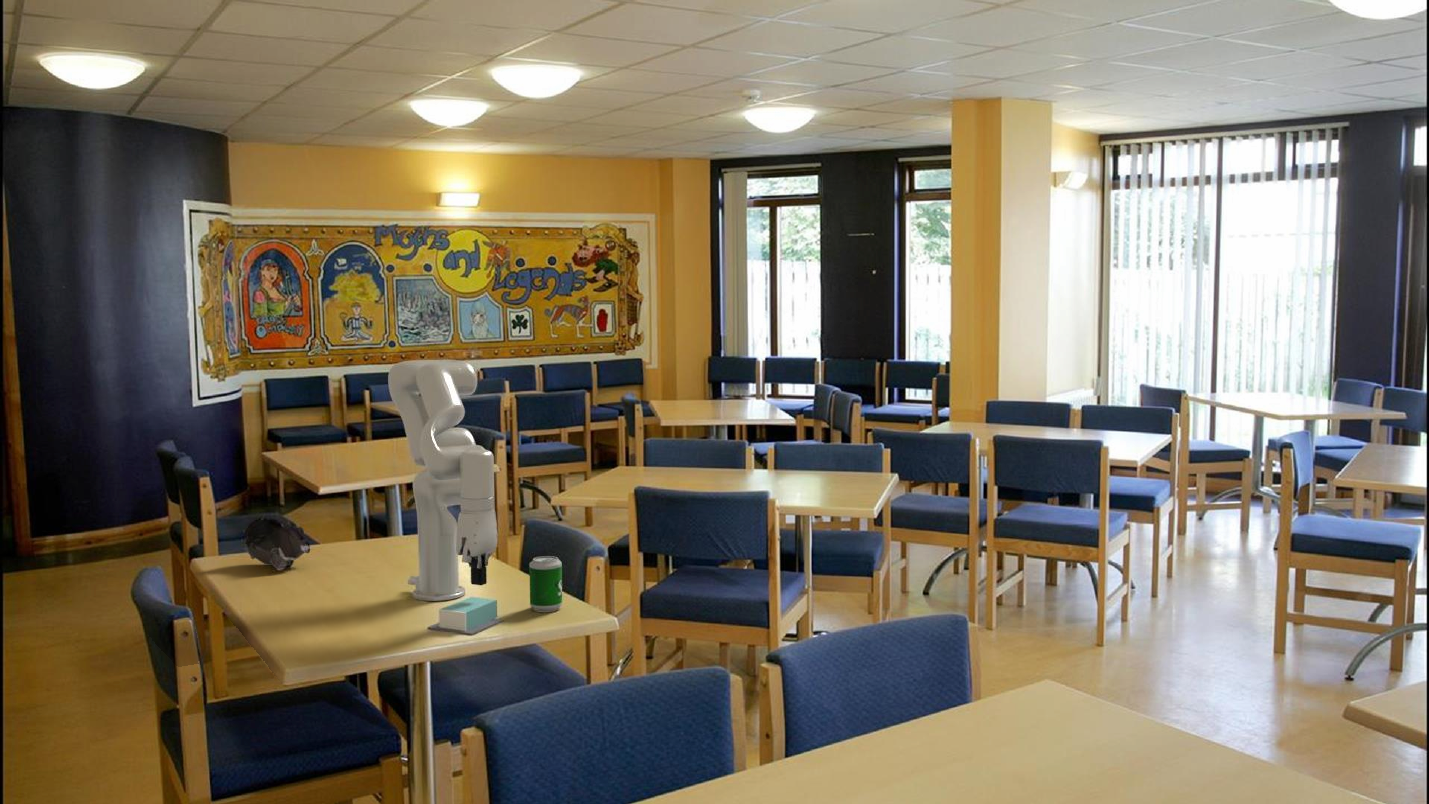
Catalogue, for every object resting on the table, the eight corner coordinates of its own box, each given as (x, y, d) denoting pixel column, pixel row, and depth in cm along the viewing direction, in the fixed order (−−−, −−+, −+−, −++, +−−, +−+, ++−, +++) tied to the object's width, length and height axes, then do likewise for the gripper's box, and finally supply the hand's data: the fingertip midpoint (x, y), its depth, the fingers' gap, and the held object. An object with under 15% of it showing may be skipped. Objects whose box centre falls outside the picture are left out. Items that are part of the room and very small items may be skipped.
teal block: (472, 613, 263) (439, 627, 252) (471, 596, 263) (438, 609, 252) (497, 617, 260) (465, 630, 249) (497, 600, 260) (464, 612, 249)
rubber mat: (427, 628, 252) (427, 627, 252) (460, 615, 263) (460, 613, 263) (472, 635, 247) (472, 633, 247) (504, 621, 258) (504, 619, 258)
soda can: (555, 614, 264) (555, 563, 263) (525, 612, 266) (524, 561, 265) (566, 605, 272) (566, 556, 271) (536, 603, 273) (536, 554, 272)
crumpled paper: (320, 562, 313) (269, 558, 323) (313, 511, 311) (262, 508, 321) (280, 578, 301) (228, 573, 311) (272, 524, 299) (220, 521, 308)
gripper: (483, 498, 266) (484, 575, 267) (443, 508, 252) (444, 589, 254) (510, 500, 263) (511, 578, 264) (471, 511, 249) (472, 593, 251)
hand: (478, 583), depth 259 cm, fingers closed
